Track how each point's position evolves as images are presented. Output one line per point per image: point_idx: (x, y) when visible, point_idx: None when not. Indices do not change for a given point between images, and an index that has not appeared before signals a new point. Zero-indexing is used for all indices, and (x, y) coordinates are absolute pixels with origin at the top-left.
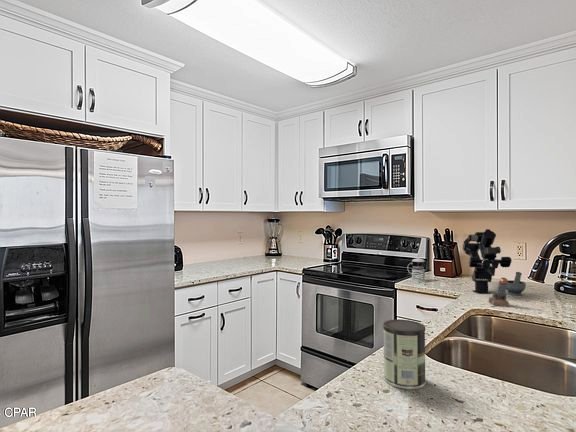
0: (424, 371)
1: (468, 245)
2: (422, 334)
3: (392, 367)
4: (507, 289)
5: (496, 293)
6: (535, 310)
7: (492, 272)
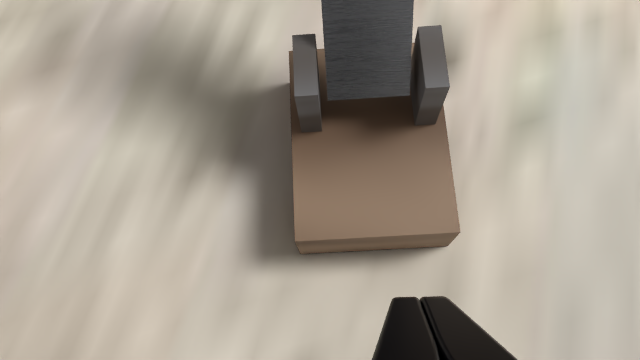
0: None
1: None
2: None
3: None
4: None
5: (410, 28)
6: (101, 17)
7: (459, 342)
